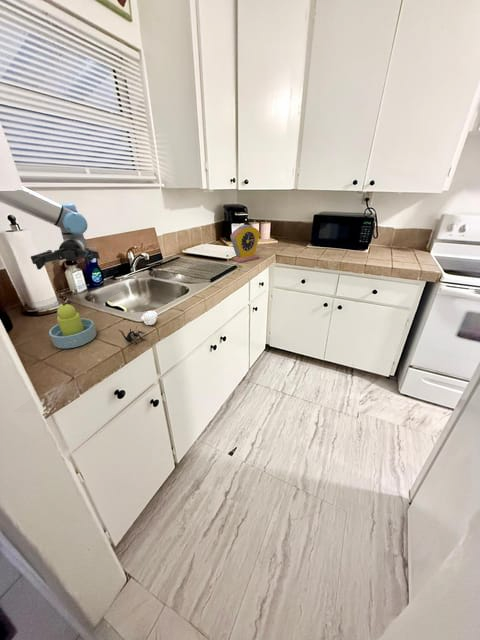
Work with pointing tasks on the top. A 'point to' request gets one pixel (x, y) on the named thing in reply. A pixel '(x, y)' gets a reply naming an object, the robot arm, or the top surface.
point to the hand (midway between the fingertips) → (62, 263)
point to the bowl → (75, 339)
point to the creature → (131, 335)
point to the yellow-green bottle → (69, 320)
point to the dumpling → (149, 317)
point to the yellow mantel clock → (245, 243)
